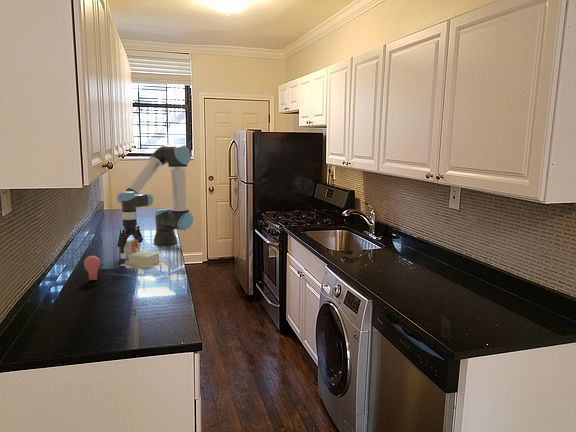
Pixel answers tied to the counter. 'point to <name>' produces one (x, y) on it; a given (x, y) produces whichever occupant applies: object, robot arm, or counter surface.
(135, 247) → the small box
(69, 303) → the counter surface
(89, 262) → the light bulb
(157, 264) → the birch board
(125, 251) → the robot arm
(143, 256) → the base block
